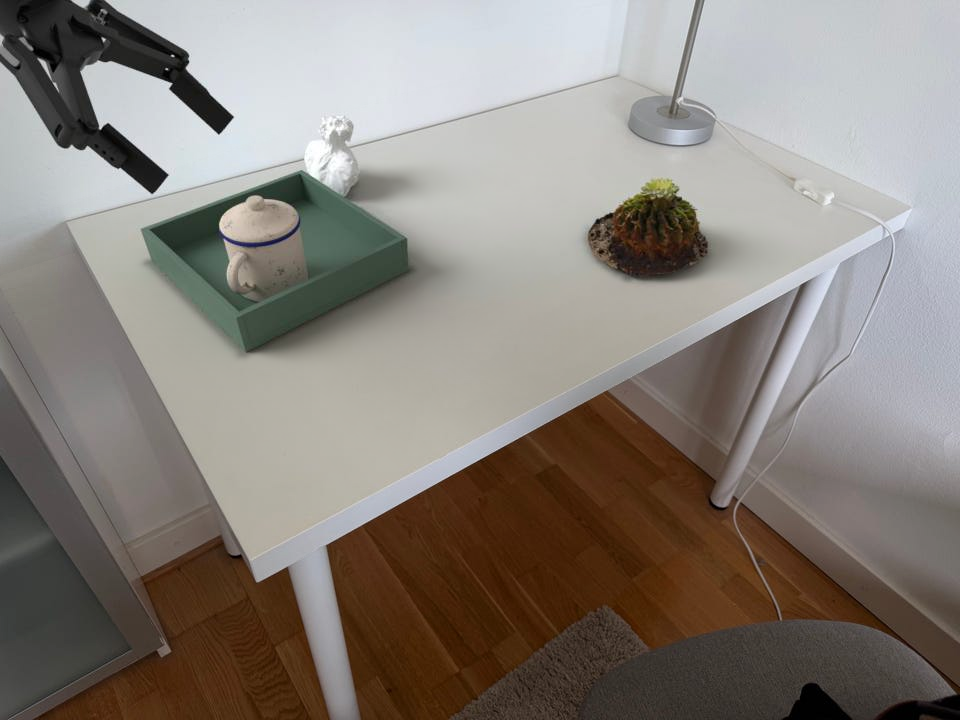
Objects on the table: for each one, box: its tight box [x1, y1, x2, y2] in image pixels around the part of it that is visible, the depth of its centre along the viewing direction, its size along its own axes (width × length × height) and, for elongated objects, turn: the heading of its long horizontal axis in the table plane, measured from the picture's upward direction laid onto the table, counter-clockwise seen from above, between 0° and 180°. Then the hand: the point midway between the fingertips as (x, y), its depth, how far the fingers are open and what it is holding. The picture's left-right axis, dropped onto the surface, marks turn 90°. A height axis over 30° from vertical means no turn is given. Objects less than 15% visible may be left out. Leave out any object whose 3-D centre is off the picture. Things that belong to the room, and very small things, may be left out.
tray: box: [140, 169, 410, 353], centre depth 87 cm, size 24×24×5 cm
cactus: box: [587, 177, 709, 277], centre depth 92 cm, size 17×16×10 cm
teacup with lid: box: [219, 196, 308, 302], centre depth 80 cm, size 12×9×12 cm
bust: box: [304, 114, 361, 197], centre depth 102 cm, size 12×8×11 cm
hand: (196, 153), depth 70 cm, fingers open, 13 cm apart
